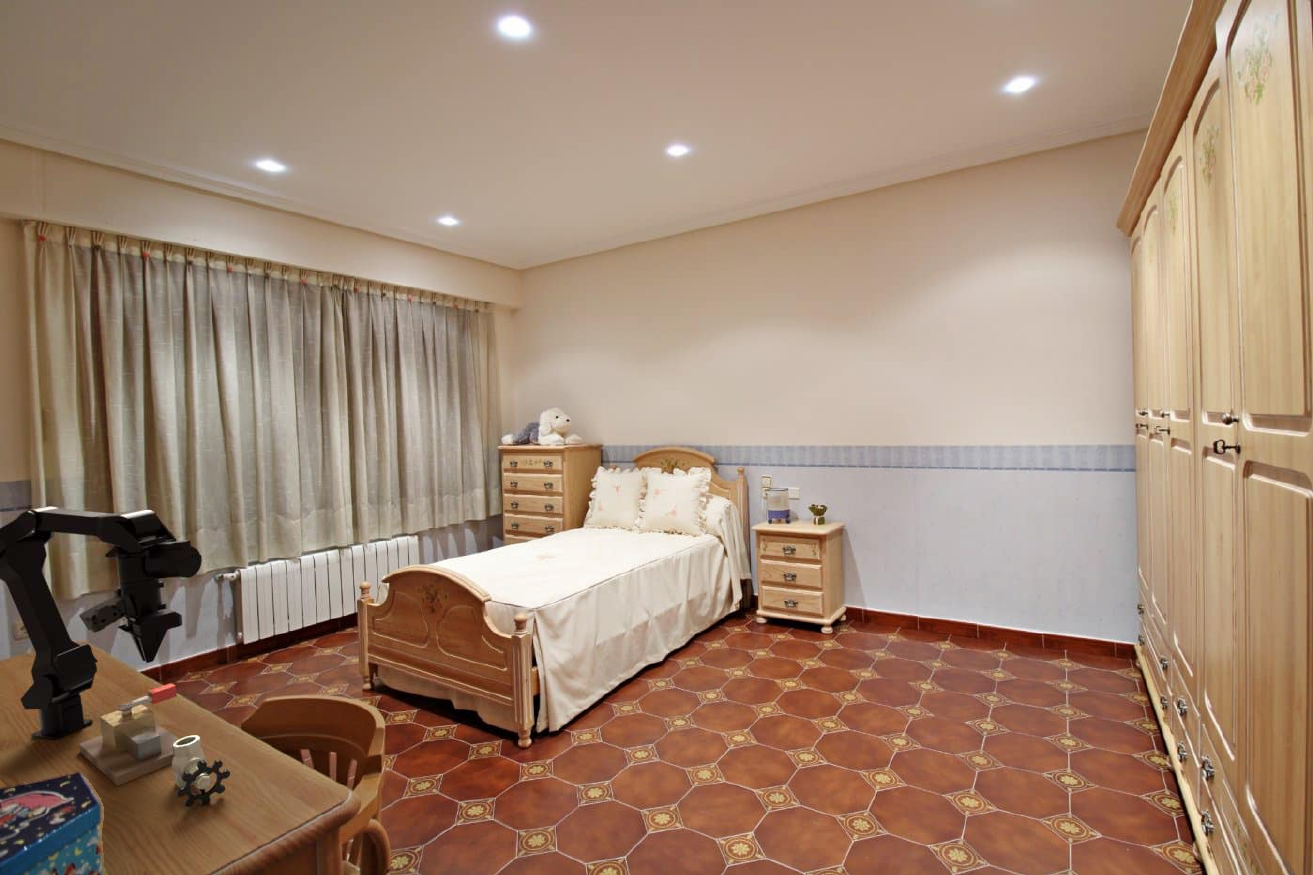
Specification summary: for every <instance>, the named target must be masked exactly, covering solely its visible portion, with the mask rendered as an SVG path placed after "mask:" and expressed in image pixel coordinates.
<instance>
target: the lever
mask: <svg viewBox="0 0 1313 875" xmlns="http://www.w3.org/2000/svg"><path fill="white" fill-rule="evenodd" d="M176 687H177V686H176V685H175V684H174V683H172V682H170V683H168V684H165V685H161V686H158V687H156V688H152V689H150V690H147V694H148V695H145V696H142V697H139V698H137V699H133V700H130V701H127V702H124V703H121V704H119V705H118V710H119V711H125V710H129V709H131V708H133V707H136V706H139V705H145V704H147V703H150V704H152V705H156V704H158V703H162V702H164V701H167V700H170V699H174V698H177V694H178V693H177V688H176Z"/></svg>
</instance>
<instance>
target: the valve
mask: <svg viewBox="0 0 1313 875" xmlns="http://www.w3.org/2000/svg"><path fill="white" fill-rule="evenodd" d="M179 739H180V740H178V741H176V742H175V743H173V744H172V749H173V755H174V757H173V760H172V763H171V770H172V772H173V773H174V776H175V784H176V786H177V787H178V788H177V789H176V790H175V795H176V796H177V797H178V798H182V797H184V796H186V795H187V797H188V798H186V799H184V800H183V805H184V806H185V807H186V808H190V807H192V806H193V805H194V803H195V801H198V800H200V801H199V802H200V804H201V805H202V806H207V805H209V804H210V803H211V801H212V799H211V798H210V797H211V796H212V795H213V794H215V793H216V794H219V795H220V794H223V793H224V792H225V791H226V787H225V785H224V784H223V783H222V781H223V780H226V779H228V778H229V777H230V776H231V772H230V770H229V769H228V768H225V769H223V771H220V769H221V768H222V767H223V765H224V763H223V760H221V759H219V758H217V759H215V760H214V761H213V764H212V765H210V766H208V763H207V761H206V760H205V753H204V751H203V749H202V743H201V742H202V741H201V737H200V736H199V735H189V736H184V737H182V738H179ZM212 773H214V774H215V775H216V778H215V779H216V780H215V783H214V785H213V786H212V787H211V788H210V789H209V790H207V791H206V788H208V787H209V786H210V785H211V776H210V775H211V774H212ZM191 786H194V787H195V788H197V789H198V790H199V792H200V794H199V793H198V794H197V793H194V792H192V790H191Z"/></svg>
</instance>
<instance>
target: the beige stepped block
mask: <svg viewBox="0 0 1313 875" xmlns="http://www.w3.org/2000/svg"><path fill="white" fill-rule="evenodd" d="M155 719H156V718H155V712H154V711H153V710H152V709H150V708H148V707H146V706H145V704H142V705H139V706H136V707H133V708H131V709H129V710H125V711H119V709H118V710H116V711H113V712H110V713H107V714H104V715H102V716H100V717H99V720H100V729H101V735H102V739H103V745H104V746H106V747H107V748H108V749H109V750H111V751H112V752H113V753H114V754H116V755H118V754H121V753H124V752H126V751H127V752H128V753H129V754H131V755H132V756H133V757H134V758H136V759H137V760H138V761H142V760H145V759H147V758H150V757H152V756H154V755H157V754H159V753H162V751H161V741H160V735H159V734H157V733H156V727H155V723H156V720H155Z"/></svg>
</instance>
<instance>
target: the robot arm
mask: <svg viewBox="0 0 1313 875" xmlns="http://www.w3.org/2000/svg"><path fill="white" fill-rule="evenodd" d="M55 533H59V534H60V533H61V534H70V535H80V536H89V537H90V536H91V537H95V538H98V539H99V540H100V541H101V542H102V543H106V544H108V545H112V546H113V547H112V548H111V549H110V550H109V551H108V552H106V553H105V555H104V556H105V558H107V559H110V558H111V559H112V558H113V559H114V558H116V563H117V573H118V581H119V586H116V589H114V596H113V597H111V598H109V599H106V600H104V601H102V602H100V603H98V604H96V605H94V606H93V607H91V608H89V609H87V610H85V611H83V612H82V613H79V615H78V617H79V618H80V620H81V621H82V622H83V624H84V626H85V627H86V628H87V630H89V631H91V632H92V633H95V634H96V633H98V632H101V631H102V630H104V629H106V627H108V626H110V625H111V624H114V623H116V622H117V621H118V620H119V621H120V620H121V619H122V620H121V621H122V624H121V625H119V626H117V629H118V630H120V631H124V633H127V634H129V635H130V637H131V638H132V641H133V643H134V644H135V647H136V649H137V651H138V654H139V656H140V658H141V660H142V662H145V663H146V664H149V663H152V662H154V661H155V659H156V657H157V654H158V651H159V650H160V647H161V645H162V643H163V640H164V639H165V636H166V634H167V632H168V630H171V629H176V628H178V627H181V626H182V625H183V616H182V614H180V613H179V612H177V611H175V610H173V609H168V608H167V604H166V602H163V600H162V590H161V589H163V588H165V584H164V583H165V582H164V581H162V580H164V579H165V580H166V579H187V578H188V579H189V578H192V577H194V576H196V575H197V574H198V572H199V571H200V569H201V566H202V562H203V558H202V554H201V553H200V551H199V550H198V549H197V548H196V547H194V546H192V545H191V544H192V542H191V540H190V539H184V540H180V541H177V540H178V539H177V538H176V537H175V536H174V534H173V533H172V532H171V531H170V529H168V527H167V526H166V525H165V524H164V523H163V521H162V520H161V519H160V518H159V516H158V514H157V512H155V511H153V510H150V509H139V510H128V511H122V512H113V513H109V512H99V511H87V510H80V509H79V510H77V509H70V508H69V509H68V508H59V507H56V506H45V507H37V508H31V509H27V510H25V511H24V512H22V513H20V514H19V515H18V517H16V518H15V519H14V520H12V521H10V522H9V523H7V524H5V525H4V526H1V527H0V580H1V581H2V582H4V583H5V584H6V586H7V588H8V592H9V593H10V596H11V598H12V600H13V602H14V605H15V608H16V609H17V612H18V614H19V616H20V619H21V621H22V623H23V627H24V628H25V630H26V634H27V635H28V637H29V638H28V639H30V641H31V642H30V643H31V645H32V646H33V649H34V651H35V657H34V660H33V663H32V666H31V670H30V673H31V678H32V681H33V683H32V685H30V687H29V688H28V689H27V690H26V692H25V693H24V694H23V696H21V698H20V702H21V704H22V706H23V708H24V710H38V716H39V717H38V718H39V726H40V730H38V731H36V732H33V733H32V734H31V735H30V737H31V738H34V739H43V740H44V739H46V740H57V739H60V738H63V737H64V736H66V735H70V734H72V733H73V732H75V731H78V730H80V729H82V728H84V727H86V726H88V725H91V724H93V723H94V720H93V719H89V718H84V717H85V716H84V710H83V709H84V708H83V702H82V696H81V693H83V692H85V691H87V690H90V689H92V688H93V684H94V678H95V675H96V673H97V671H98V667H97V663H98V662H99V661H98V660H97V658H96V657H95V656H94V653H93V650H92V647H91V645H89V643H84V644H82V645H81V644H79V643H77V642H75V641H73V640H72V638H71V636H70V634H69V631H68V629H67V627H66V625H65V622H64V620H63V617H62V615H61V613H60V610H59V608H58V606H57V604H56V602H55V599H54V596H53V594H52V592H51V589H50V587H49V585H48V583H47V580H46V578H45V575H44V574H43V572H44V571H43V570H44V569H43V568H44V566H45V564H46V560H47V557H48V556H47V554H48V553H47V550H46V545H47V544H48V543H49V542H50V541H51V540H52V539H53V538H54V536H55ZM160 579H161V580H160Z"/></svg>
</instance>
